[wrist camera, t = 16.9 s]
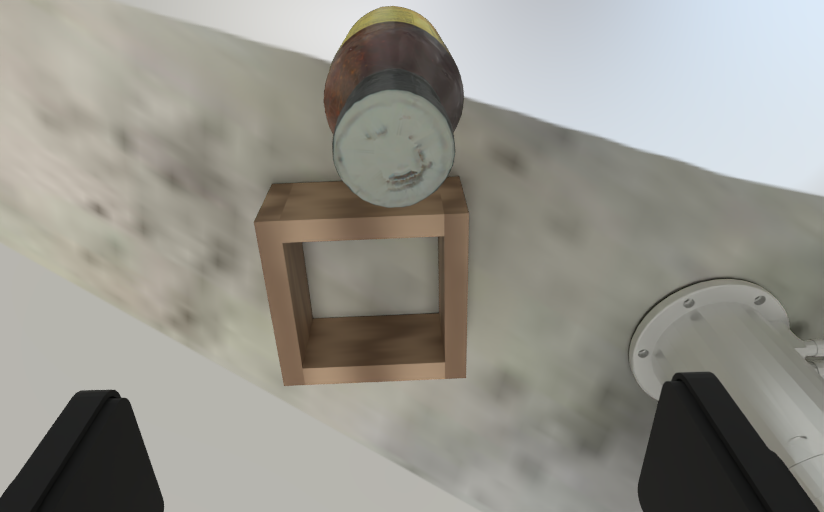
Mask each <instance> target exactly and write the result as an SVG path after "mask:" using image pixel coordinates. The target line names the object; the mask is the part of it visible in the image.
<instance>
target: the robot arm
mask: <svg viewBox="0 0 824 512" xmlns="http://www.w3.org/2000/svg"><path fill="white" fill-rule="evenodd" d="M806 356H812V357H820V356H824V339H810V340H801V339H800V338H798V337H797V336H796V335H795V334H794V333H793V332H792V331H791V330H790V324H789V319H788V316H787V313H786V310H785V309H784V307H783V306H782V305H781V303H780V302H779V301H778V300H777V299H776V298H775V297H774V296H773V295H772V294H771V293H770V292H769V291H767V290H765V289H764V288H762V287H760V286H759V285H757V284H754V283H751V282H748V281H743V280H736V279H716V280H711V281H706V282H701V283H697V284H695V285H692V286H689V287H686V288H684V289H682V290H680V291H678V292H676V293H674V294H672V295H670V296H669V297H667V298H666V299H664V300H663V301H662V302H660V303H659V304H657V305H656V306H655V307H654V308H653V309H652V310H651V311H650V312H649V313H648V314H647V315H646V316H645V318H644V319H643V320H642V322H641V323H640V324H639V326H638V327H637V329H636V331H635V333H634V335H633V337H632V341H631V345H630V349H629V363H630V367H631V371H632V373H633V375H634V377H635V379H636V381H637V383H638V384H639V385H640V387H641V388H642V389H643V391H644V392H646V393H647V394H648V395H649V396H651V397H652V398H654V399H656V400H658V405H657V409H656V413H655V418H654V422H653V426H652V430H651V434H650V438H649V442H648V446H647V450H646V454H645V458H644V462H643V466H642V470H641V474H640V478H639V482H638V497H639V501H640V505H641V508H642V510H643V512H824V360H813V361H806V360H805V357H806ZM0 512H164V501H163V497H162V494H161V491H160V488H159V485H158V483H157V480H156V477H155V474H154V471H153V468H152V465H151V462H150V459H149V456H148V453H147V450H146V448H145V445H144V442H143V439H142V436H141V433H140V430H139V428H138V424H137V421H136V418H135V416H134V412H133V410H132V407H131V404H130V402H129V400H128V399H127V398H121V397H120V394H119V393H118V392H117V391H116V390H88V391H79V392H77V393H76V394H75V395H74V396H73V397H72V398H71V400H70V401H69V403H68V404H67V406H66V407H65V408H64V410H63V411H62V413H61V414H60V416H59V417H58V418H57V420H56V421H55V423H54V424H53V425H52V427H51V428H50V430H49V431H48V432H47V434H46V435H45V437H44V438H43V440H42V441H41V442H40V444H39V445H38V447H37V448H36V450H35V451H34V452H33V454H32V455H31V457H30V458H29V459H28V461H27V462H26V464H25V465H24V467H23V468H22V469H21V471H20V472H19V474H18V475H17V476H16V478H15V479H14V480H13V482H12V483H11V484H10V485H9V486H8V488H7V489H6V490H5V492H4V493H3V495H2V496H1V498H0Z"/></svg>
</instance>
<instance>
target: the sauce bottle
mask: <svg viewBox="0 0 824 512" xmlns="http://www.w3.org/2000/svg"><path fill="white" fill-rule="evenodd" d="M463 102H464V92H463V84H462V80H461V76H460V73H459V70H458V68H457V65H456V63H455V61H454V59H453V58H452V56H451V54H450V52H449V51H448V49H447V47H446V45H445V44H444V42H443V41H442V39H441V38H440V36H439V34H438V33H437V31H436V29H435V28H434V27H433V26H432V24H431V23H430V22H429V21H428V20H427V19H426V18H424V17H423V16H422V15H420V14H418V13H417V12H414V11H412V10H409V9H406V8H402V7H396V6H390V7H389V6H388V7H380V8H378V9H375V10H373V11H371V12H369V13H367V14H366V15H364V16H363V17H361V18H360V19H359V20H358V21H357V22H356V23H355V25H353V27H352V28H351V30H350V31H349V33H348V35H347V36H346V38H345V40H344V41H343V43H342V45H341V46H340V48H339V50H338V51H337V53H336V55H335V57H334V59H333V61H332V63H331V66H330V70H329V73H328V76H327V79H326V83H325V90H324V106H325V113H326V116H327V121H328V124H329V127H330V129H331V131H332V133H333V143H332V147H333V160H334V164H335V167H336V170H337V172H338V174H339V176H340V178H341V179H342V181H343V182H344V183H345V184H346V185H347V186H348V188H349V189H350V190H351V191H352V192H353V193H355V194H356V195H358V196H359V197H360V198H361V199H362V200H365V201H367V202H369V203H372V204H373V205H378V206H383V207H387V208H393V207H406V206H411V205H414V204H416V203H418V202H419V201H421V200H423V199H425V198H427V197H428V196H430V195H431V194H432V193H434V192H435V191H437V190H438V188H439V187H440V186H441V185H442V184H443V182H444V181H445V179H446V178H447V176H448V174H449V172H450V170H451V168H452V166H453V162H454V156H455V142H454V135H453V132H454V131H455V129H456V127H457V125H458V123H459V120H460V117H461V115H462V109H463Z"/></svg>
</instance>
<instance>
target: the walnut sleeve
mask: <svg viewBox="0 0 824 512" xmlns="http://www.w3.org/2000/svg"><path fill="white" fill-rule="evenodd" d="M254 225H255V231H256V236H257V242H258V247H259V252H260V258H261V263H262V269H263V274H264V280H265V285H266V290H267V296H268V301H269V307H270V312H271V318H272V323H273V328H274V334H275V339H276V345H277V350H278V356H279V361H280V366H281V372H282V377H283V383H284V386H292V385H315V384H338V383H361V382H383V381H406V380H429V379H452V378H466V348H467V294H468V241H469V211H468V208H467V204H466V200H465V196H464V193H463V189H462V185H461V182H460V178H459V176H458V177H447V178H446V179H445V181H444V182H443V184H442V185H441V186H440V187H439V188H438V190H437V191H435V192H434V193H432V194H431V195H430V196H428V197H427V198H425V199H423V200H421V201H419V202H418V203H416V204H414V205H411V206H406V207H393V208H387V207H383V206H378V205H373V204H372V203H369V202H367V201H365V200H362V199H361V198H360V197H359V196H358V195H356V194H355V193H353V192H352V191H351V190H350V189H349V188H348V186H347V185H346V184H345V183H344V182H343V181H334V182H309V183H284V184H272V185H271V187H270V189H269V191H268V193H267V196H266V198H265V200H264V202H263V204H262V206H261V208H260V210H259V212H258V214H257V217H256V219H255V221H254ZM437 236H438V266H439V313H433V314H409V315H386V316H362V317H339V318H315V319H313V316H312V309H311V302H310V295H309V288H308V281H307V274H306V267H305V260H304V253H303V246H302V242H316V241H340V240H364V239H388V238H412V237H437Z"/></svg>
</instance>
